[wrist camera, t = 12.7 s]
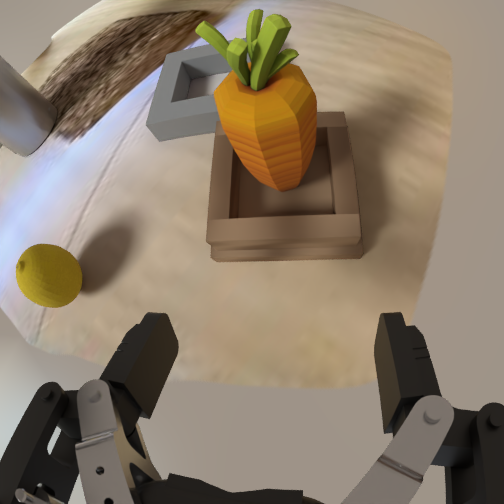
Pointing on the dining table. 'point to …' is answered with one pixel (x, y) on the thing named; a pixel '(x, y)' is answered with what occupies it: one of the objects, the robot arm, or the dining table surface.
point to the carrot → (265, 102)
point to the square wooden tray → (286, 204)
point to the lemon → (49, 275)
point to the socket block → (185, 94)
